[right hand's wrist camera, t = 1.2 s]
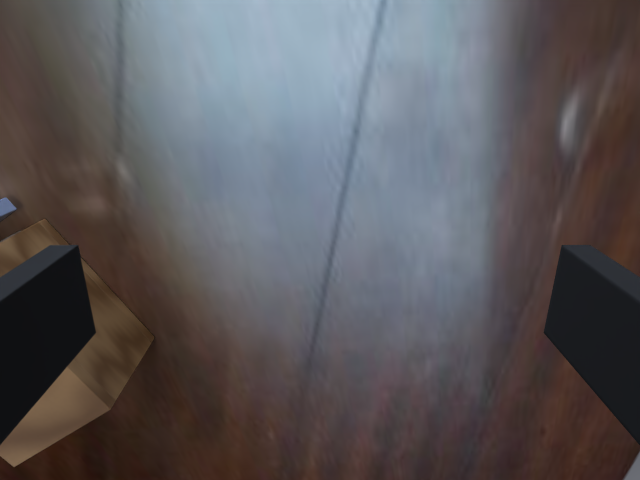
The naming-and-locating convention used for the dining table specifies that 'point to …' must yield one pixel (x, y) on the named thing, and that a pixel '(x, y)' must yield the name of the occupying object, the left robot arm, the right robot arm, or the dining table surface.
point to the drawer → (6, 211)
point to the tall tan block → (87, 367)
